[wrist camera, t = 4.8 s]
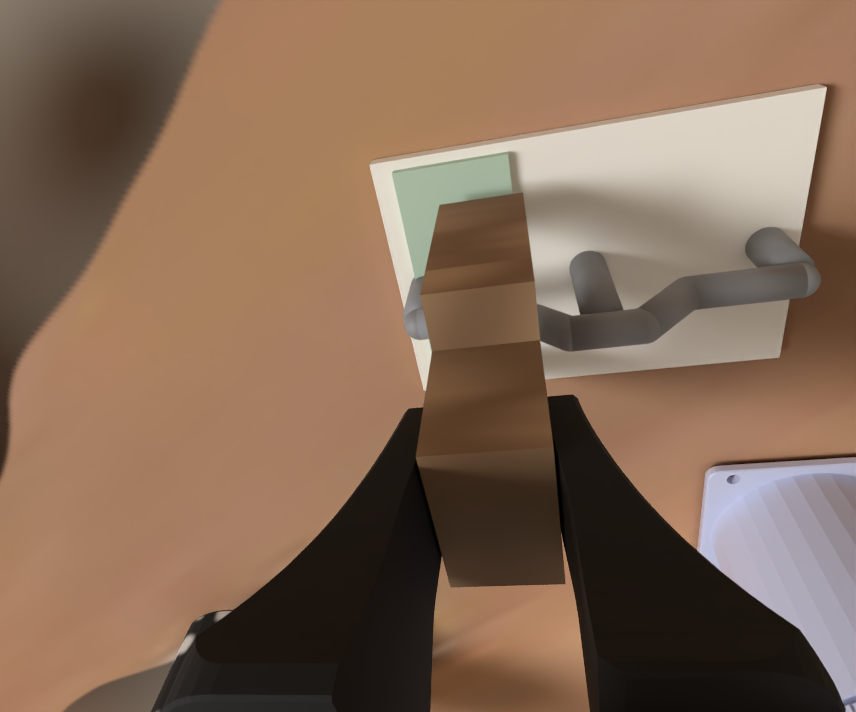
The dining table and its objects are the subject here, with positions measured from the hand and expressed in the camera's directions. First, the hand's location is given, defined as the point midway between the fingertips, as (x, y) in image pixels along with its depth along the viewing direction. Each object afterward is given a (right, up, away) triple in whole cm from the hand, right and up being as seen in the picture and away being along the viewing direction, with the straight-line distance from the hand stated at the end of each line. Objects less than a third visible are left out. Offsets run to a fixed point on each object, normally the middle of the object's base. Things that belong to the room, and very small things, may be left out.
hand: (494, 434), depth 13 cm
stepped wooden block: (+1, +4, +6) cm, 7 cm away
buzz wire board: (+4, +5, +6) cm, 9 cm away
